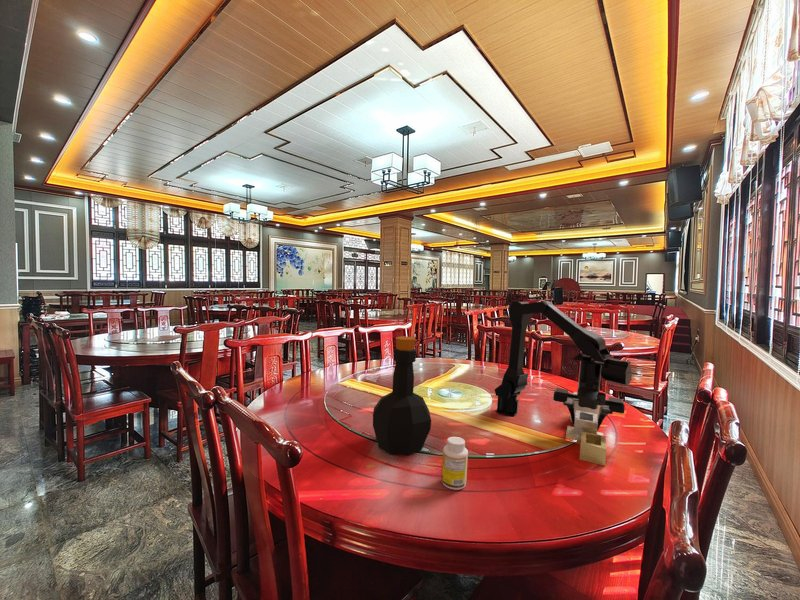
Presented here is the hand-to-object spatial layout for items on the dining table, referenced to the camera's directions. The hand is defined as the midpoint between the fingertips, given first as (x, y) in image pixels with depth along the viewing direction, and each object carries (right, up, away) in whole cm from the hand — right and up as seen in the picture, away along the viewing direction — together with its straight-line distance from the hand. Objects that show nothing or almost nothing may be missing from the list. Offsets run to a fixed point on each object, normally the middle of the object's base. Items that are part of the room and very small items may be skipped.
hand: (585, 427), depth 110 cm
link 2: (-3, -4, -10) cm, 12 cm away
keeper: (0, -4, 0) cm, 4 cm away
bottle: (-56, -2, -10) cm, 57 cm away
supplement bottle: (-44, -3, -28) cm, 52 cm away
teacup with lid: (+6, -3, +15) cm, 16 cm away
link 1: (0, -1, 0) cm, 1 cm away
